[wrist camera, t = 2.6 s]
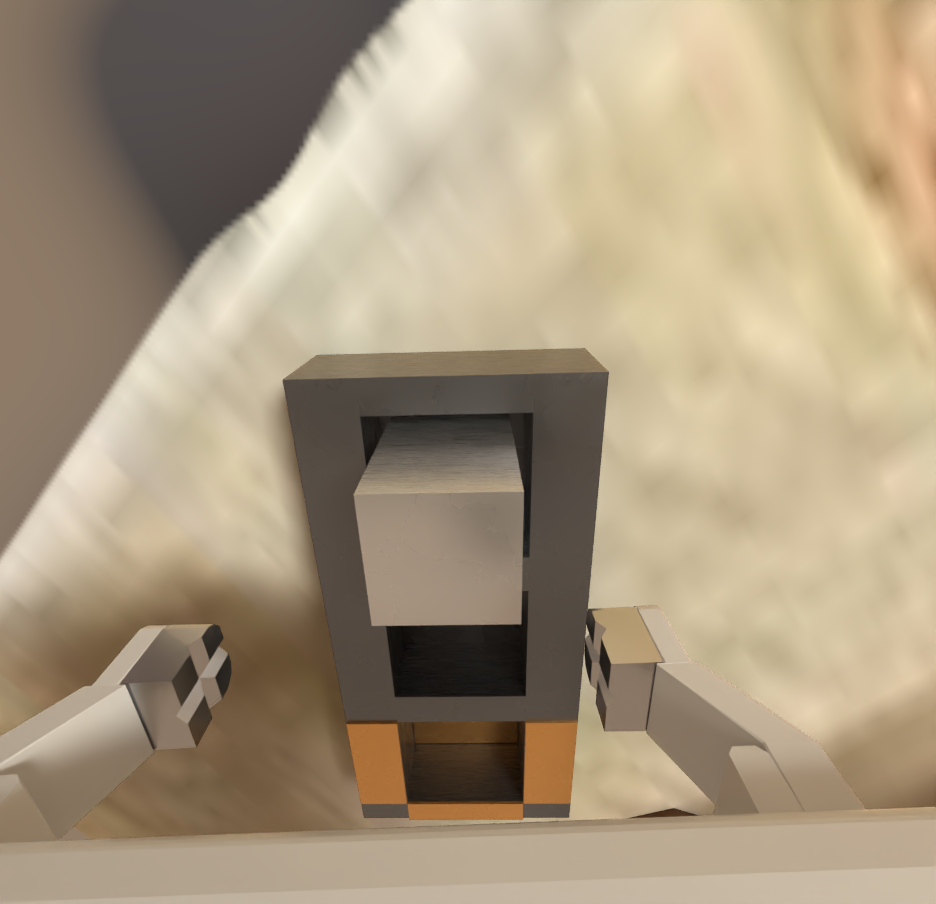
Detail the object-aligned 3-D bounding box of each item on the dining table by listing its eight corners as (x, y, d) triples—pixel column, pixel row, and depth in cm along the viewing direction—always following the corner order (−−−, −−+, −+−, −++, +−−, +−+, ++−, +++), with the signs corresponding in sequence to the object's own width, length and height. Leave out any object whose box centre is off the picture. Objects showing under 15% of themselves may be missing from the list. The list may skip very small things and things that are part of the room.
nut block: (506, 403, 18) (523, 491, 12) (506, 501, 20) (521, 624, 14) (396, 405, 18) (353, 494, 12) (405, 502, 20) (372, 625, 14)
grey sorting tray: (585, 348, 18) (609, 372, 15) (557, 748, 27) (569, 819, 23) (316, 355, 18) (281, 380, 15) (377, 749, 27) (363, 820, 24)
